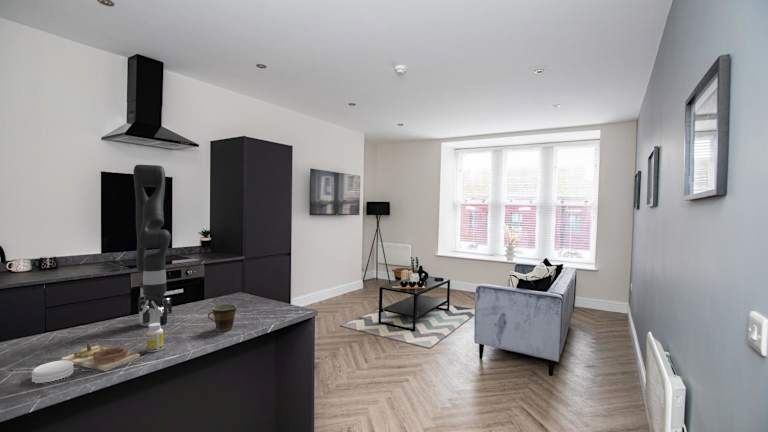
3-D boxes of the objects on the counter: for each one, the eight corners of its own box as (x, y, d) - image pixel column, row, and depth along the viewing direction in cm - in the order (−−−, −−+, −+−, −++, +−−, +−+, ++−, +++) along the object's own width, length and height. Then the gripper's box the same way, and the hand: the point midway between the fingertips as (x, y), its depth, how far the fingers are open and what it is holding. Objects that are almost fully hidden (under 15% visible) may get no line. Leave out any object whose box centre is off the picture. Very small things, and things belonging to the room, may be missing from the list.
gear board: (60, 361, 128) (60, 348, 127) (97, 348, 139) (96, 336, 139) (105, 371, 121) (105, 357, 121) (139, 357, 132) (139, 344, 132)
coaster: (28, 387, 110) (28, 376, 110) (34, 375, 118) (34, 364, 118) (71, 378, 116) (71, 368, 116) (75, 367, 124) (75, 357, 124)
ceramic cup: (227, 324, 170) (227, 302, 169) (241, 328, 165) (241, 306, 164) (201, 332, 159) (201, 309, 158) (215, 336, 153) (215, 313, 153)
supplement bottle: (160, 345, 143) (160, 321, 143) (165, 349, 140) (165, 324, 139) (144, 349, 139) (144, 324, 139) (149, 353, 135) (149, 327, 135)
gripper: (131, 282, 137) (131, 325, 137) (160, 285, 133) (160, 329, 133) (149, 278, 144) (149, 319, 144) (177, 281, 140) (177, 323, 140)
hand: (154, 324), depth 139 cm, fingers open, 8 cm apart
